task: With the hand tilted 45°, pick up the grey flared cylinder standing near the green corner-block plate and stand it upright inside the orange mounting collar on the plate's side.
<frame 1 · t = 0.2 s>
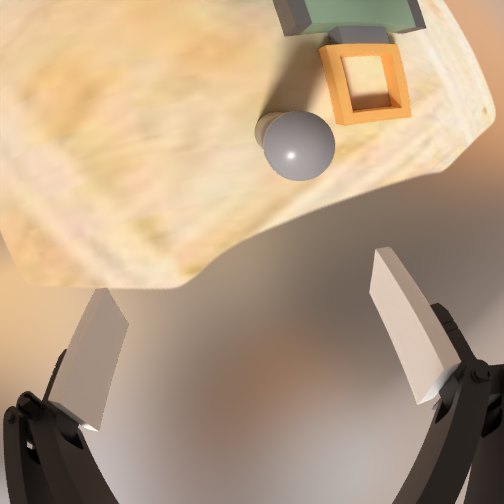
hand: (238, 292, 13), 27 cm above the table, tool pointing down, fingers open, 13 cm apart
grey flared cylinder: (276, 132, 34), on the table
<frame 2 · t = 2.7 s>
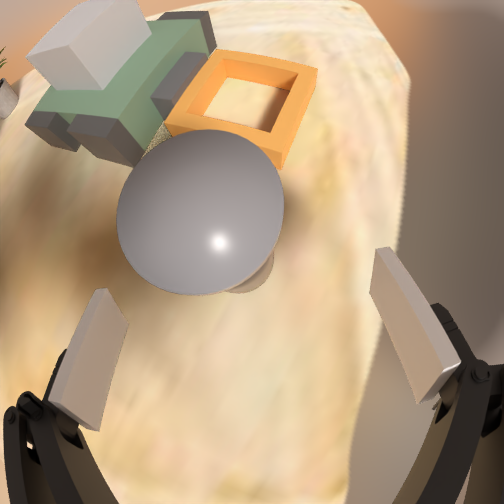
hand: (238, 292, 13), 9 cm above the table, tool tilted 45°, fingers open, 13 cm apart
green corner-block plate: (127, 90, 27), on the table
house plant: (10, 112, 31), on the table
grey flared cylinder: (238, 258, 22), on the table
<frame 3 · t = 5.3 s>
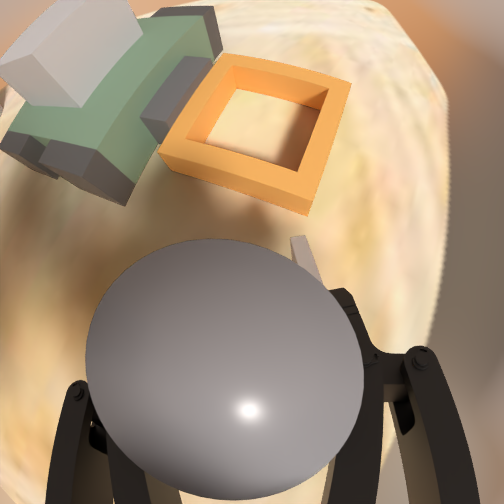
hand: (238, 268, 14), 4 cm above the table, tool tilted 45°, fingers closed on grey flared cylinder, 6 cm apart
green corner-block plate: (115, 103, 23), on the table
grey flared cylinder: (254, 330, 18), on the table, touching gripper
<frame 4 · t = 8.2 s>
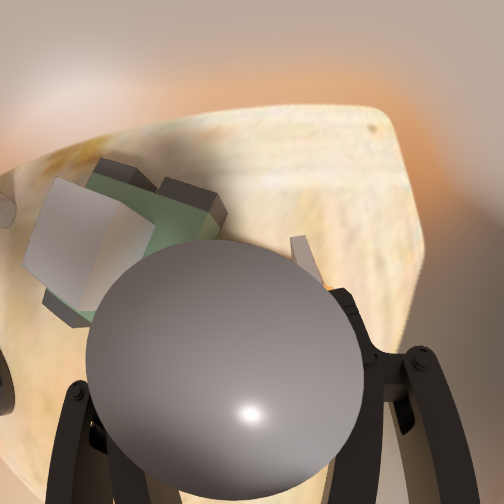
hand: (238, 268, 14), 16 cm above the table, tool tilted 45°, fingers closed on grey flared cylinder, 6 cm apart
green corner-block plate: (137, 263, 32), on the table
house plant: (9, 221, 36), on the table
grey flared cylinder: (254, 330, 18), point 12 cm above the table, touching gripper
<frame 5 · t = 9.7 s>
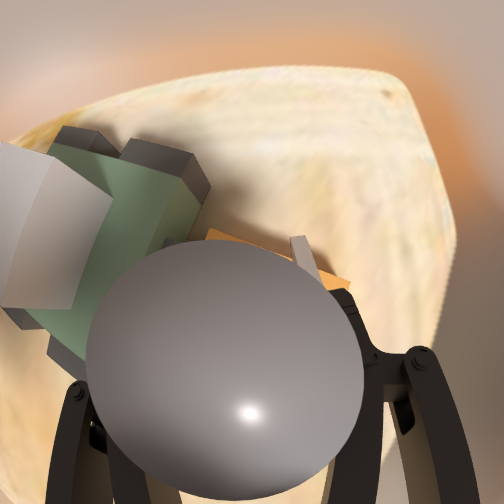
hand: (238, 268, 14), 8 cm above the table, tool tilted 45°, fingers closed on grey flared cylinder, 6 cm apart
green corner-block plate: (101, 251, 24), on the table
grey flared cylinder: (254, 330, 18), point 4 cm above the table, touching gripper
when the fingers open (6 cm above the table, at t = 11.1 s): grey flared cylinder drops 1 cm, resting in green corner-block plate.
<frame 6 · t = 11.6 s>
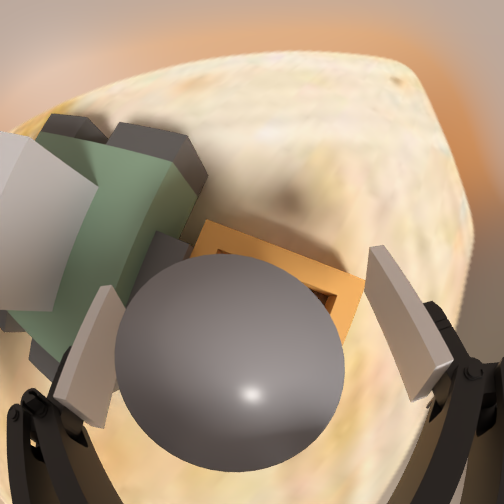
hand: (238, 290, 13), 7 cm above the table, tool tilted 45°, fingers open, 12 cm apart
green corner-block plate: (89, 248, 22), on the table
grey flared cylinder: (255, 328, 19), resting in green corner-block plate
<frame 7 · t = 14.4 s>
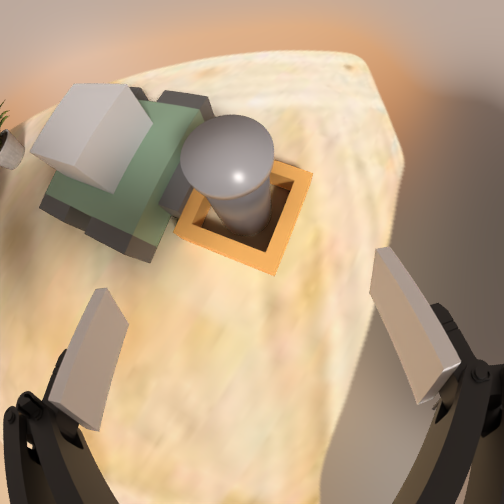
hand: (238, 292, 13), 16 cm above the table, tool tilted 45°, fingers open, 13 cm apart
green corner-block plate: (133, 172, 33), on the table
house plant: (17, 163, 37), on the table
grey flared cylinder: (245, 211, 30), resting in green corner-block plate
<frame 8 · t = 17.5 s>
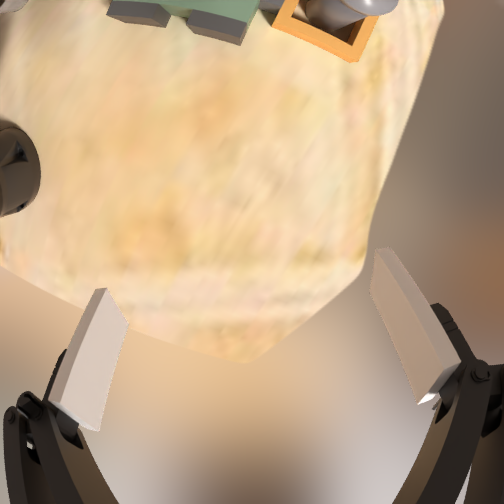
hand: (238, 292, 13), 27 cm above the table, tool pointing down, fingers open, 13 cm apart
house plant: (23, 2, 15), on the table
grey flared cylinder: (326, 12, 24), resting in green corner-block plate
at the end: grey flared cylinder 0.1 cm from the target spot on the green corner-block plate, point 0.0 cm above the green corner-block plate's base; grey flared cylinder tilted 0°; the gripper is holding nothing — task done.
